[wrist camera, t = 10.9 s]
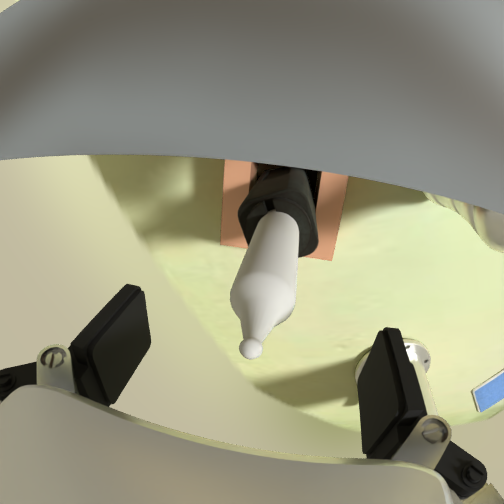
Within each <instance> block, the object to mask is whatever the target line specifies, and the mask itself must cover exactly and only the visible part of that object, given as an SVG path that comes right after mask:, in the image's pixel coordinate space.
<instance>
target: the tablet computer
mask: <svg viewBox="0 0 504 504" xmlns="http://www.w3.org/2000/svg"><path fill="white" fill-rule="evenodd" d="M472 393H473V396H474V399H475V402H476V406H477V409H478V412H483V411H484V410H486V409H487V408H489V407H491V406H492V405H494V404H495V403H497V402H499V401H500V400H502V399H503V398H504V369H503V370H502V371H500V372H499V373H497V374H496V375H494V376H493V377H491V378H490V379H488V380H487V381H485V382H483V383H482V384H480V385H478V386H477V387H475V388H474V389H473V390H472Z"/></svg>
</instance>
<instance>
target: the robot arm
mask: <svg viewBox="0 0 504 504" xmlns="http://www.w3.org/2000/svg"><path fill="white" fill-rule="evenodd" d="M150 345H151V336H150V330H149V323H148V316H147V310H146V301H145V294H144V291H141V288H140V287H139V286H135V285H130V284H126V285H125V286H124V287H123V288H122V289H121V290H120V291H119V292H118V293H117V294H116V295H115V296H114V297H113V298H112V299H111V300H110V301H109V302H108V303H107V304H106V305H105V307H104V308H103V309H102V310H101V311H100V312H99V313H98V314H97V315H96V316H95V317H94V318H93V319H92V320H91V321H90V323H89V324H88V325H87V326H86V327H85V328H84V329H83V330H82V331H81V332H80V334H79V335H78V336H77V337H76V338H75V339H74V340H73V341H72V342H71V345H70V347H69V348H68V349H67V348H66V347H65V346H63V345H59V344H56V345H50V346H47V347H46V348H44V349H43V350H42V351H41V352H40V353H39V355H38V357H37V362H33V363H29V364H24V365H20V366H15V367H10V368H5V369H3V370H0V504H504V499H503V498H502V497H501V496H500V494H499V493H498V491H497V490H496V489H495V488H494V486H493V485H492V484H491V483H490V484H489V485H488V484H487V483H486V480H487V471H486V468H485V466H484V465H483V464H482V463H481V462H480V461H479V460H477V459H476V458H474V457H473V456H471V455H470V454H468V453H467V452H466V451H464V450H463V449H461V448H460V447H459V446H457V445H456V444H455V443H453V442H452V441H450V439H451V428H450V425H449V424H448V423H447V421H446V420H444V419H443V418H442V417H439V415H438V411H437V408H436V404H435V401H434V398H433V394H432V391H431V388H430V385H429V381H428V378H427V375H426V373H427V371H428V369H429V366H430V360H431V358H430V354H429V352H428V349H427V348H426V347H425V345H424V344H422V343H420V342H419V341H416V340H412V339H403V338H402V335H401V332H400V330H399V329H397V328H388V327H385V328H384V329H383V331H379V332H378V334H377V337H376V339H375V341H374V344H373V346H372V348H371V351H369V352H368V353H367V354H366V355H364V357H363V358H362V359H361V360H360V361H359V363H358V365H357V367H356V370H355V379H356V383H357V388H358V398H359V409H360V421H361V436H362V451H363V454H366V456H367V459H358V458H335V457H320V456H308V455H298V454H289V453H281V452H274V451H267V450H261V449H255V448H249V447H244V446H238V445H233V444H229V443H224V442H219V441H215V440H210V439H207V438H202V437H199V436H195V435H191V434H187V433H184V432H180V431H177V430H173V429H169V428H167V427H163V426H160V425H157V424H154V423H151V422H148V421H145V420H142V419H139V418H136V417H134V416H131V415H128V414H126V413H123V412H120V411H117V410H115V409H112V408H110V407H109V406H110V405H111V404H114V403H115V402H116V401H117V399H118V397H119V396H120V394H121V392H122V391H123V389H124V388H125V386H126V384H127V383H128V381H129V379H130V378H131V376H132V375H133V373H134V371H135V370H136V368H137V367H138V365H139V363H140V362H141V360H142V359H143V357H144V356H145V354H146V353H147V351H148V349H149V348H150Z"/></svg>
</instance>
